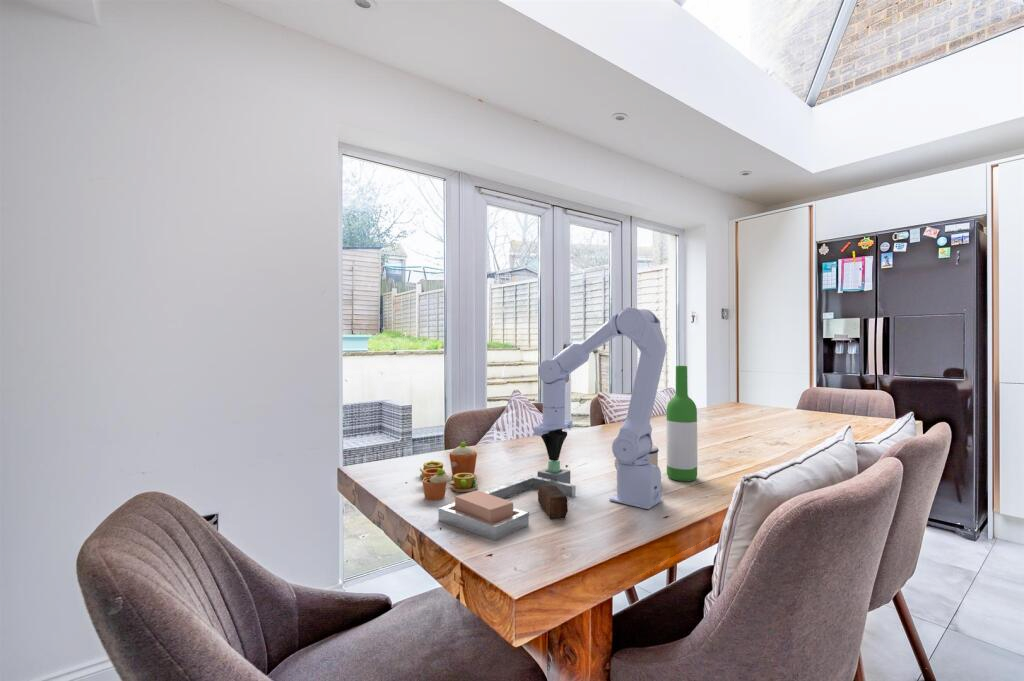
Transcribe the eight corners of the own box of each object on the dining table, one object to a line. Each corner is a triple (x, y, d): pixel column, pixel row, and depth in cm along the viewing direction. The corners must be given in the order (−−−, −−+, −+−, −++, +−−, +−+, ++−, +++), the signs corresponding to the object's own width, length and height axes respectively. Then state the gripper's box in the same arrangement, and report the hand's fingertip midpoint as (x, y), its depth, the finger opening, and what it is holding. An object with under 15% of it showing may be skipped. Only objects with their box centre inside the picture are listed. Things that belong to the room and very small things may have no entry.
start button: (562, 476, 123) (562, 460, 123) (555, 479, 120) (555, 463, 120) (552, 474, 124) (552, 459, 125) (545, 477, 122) (545, 461, 122)
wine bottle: (702, 478, 128) (702, 365, 128) (688, 484, 122) (688, 367, 123) (675, 472, 133) (675, 365, 134) (661, 478, 128) (660, 366, 128)
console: (570, 484, 123) (570, 470, 123) (557, 489, 118) (557, 475, 118) (551, 479, 127) (551, 466, 127) (537, 485, 122) (537, 471, 122)
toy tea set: (419, 473, 134) (419, 439, 134) (475, 471, 137) (475, 437, 137) (416, 504, 109) (416, 461, 109) (484, 500, 111) (484, 459, 111)
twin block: (477, 513, 103) (477, 490, 103) (513, 527, 95) (513, 502, 95) (455, 520, 98) (455, 496, 98) (490, 536, 90) (490, 509, 90)
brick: (568, 519, 99) (568, 496, 99) (549, 520, 98) (549, 497, 98) (554, 502, 109) (554, 482, 109) (537, 503, 108) (537, 483, 109)
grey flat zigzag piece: (585, 498, 112) (585, 487, 112) (495, 540, 88) (495, 526, 88) (532, 485, 122) (532, 475, 122) (438, 520, 98) (438, 508, 98)
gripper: (557, 402, 131) (557, 452, 131) (523, 408, 119) (523, 462, 119) (579, 404, 126) (579, 456, 126) (546, 410, 115) (546, 467, 115)
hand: (553, 459), depth 122 cm, fingers closed
